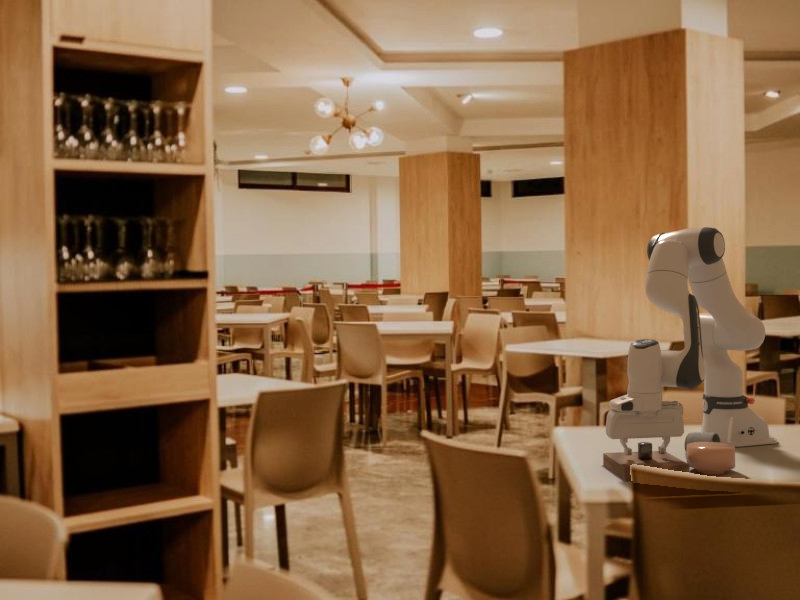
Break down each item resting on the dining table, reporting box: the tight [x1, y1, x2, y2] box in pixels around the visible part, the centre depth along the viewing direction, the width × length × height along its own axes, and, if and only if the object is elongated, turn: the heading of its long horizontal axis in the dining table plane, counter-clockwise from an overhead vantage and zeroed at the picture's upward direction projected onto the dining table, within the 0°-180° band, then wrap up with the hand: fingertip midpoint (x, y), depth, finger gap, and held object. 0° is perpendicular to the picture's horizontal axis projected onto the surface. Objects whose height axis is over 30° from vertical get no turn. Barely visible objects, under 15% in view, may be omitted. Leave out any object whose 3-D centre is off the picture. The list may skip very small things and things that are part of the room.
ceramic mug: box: [683, 431, 721, 460], centre depth 258 cm, size 11×8×8 cm
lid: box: [602, 441, 691, 482], centre depth 243 cm, size 17×17×8 cm
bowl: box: [686, 442, 736, 475], centre depth 243 cm, size 12×12×7 cm
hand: (645, 454), depth 243 cm, fingers open, 8 cm apart
